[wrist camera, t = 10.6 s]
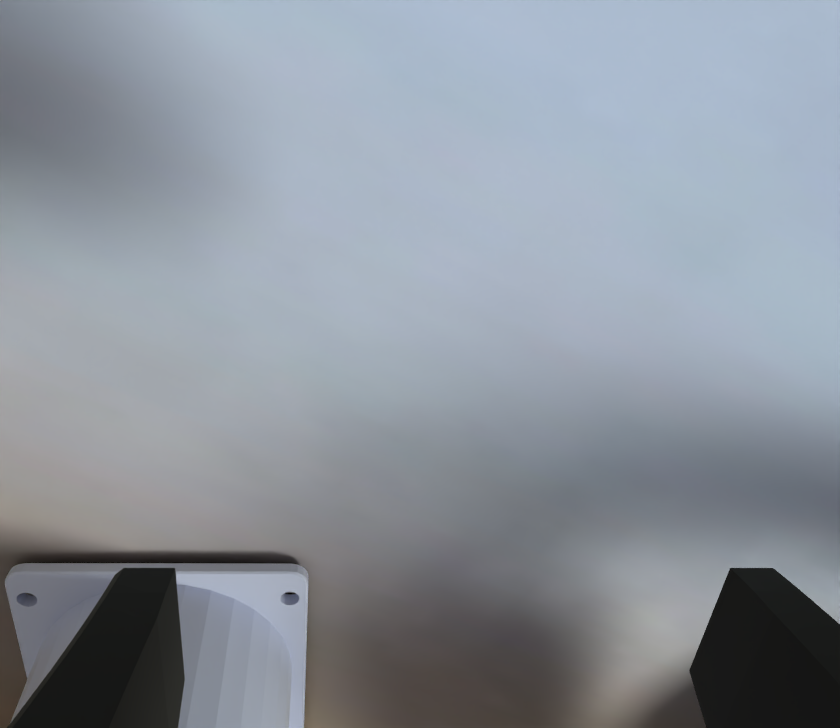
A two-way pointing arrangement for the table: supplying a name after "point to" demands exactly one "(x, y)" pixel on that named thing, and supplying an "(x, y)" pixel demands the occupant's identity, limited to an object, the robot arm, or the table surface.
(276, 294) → the table surface
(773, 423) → the table surface
